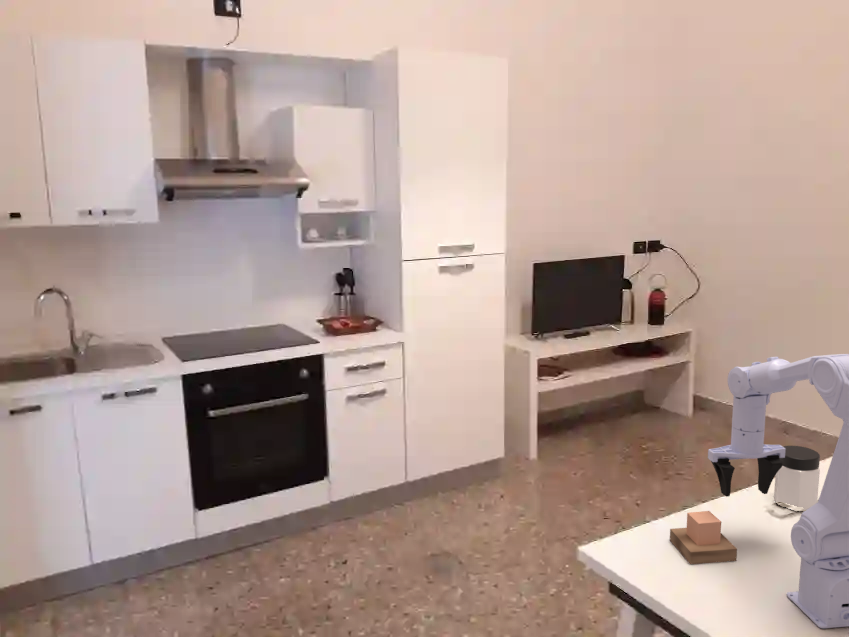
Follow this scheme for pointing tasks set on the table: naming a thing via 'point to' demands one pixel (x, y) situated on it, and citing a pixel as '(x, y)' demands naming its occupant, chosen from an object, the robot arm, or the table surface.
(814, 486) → the jar
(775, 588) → the table surface
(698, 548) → the base block
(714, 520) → the cube
